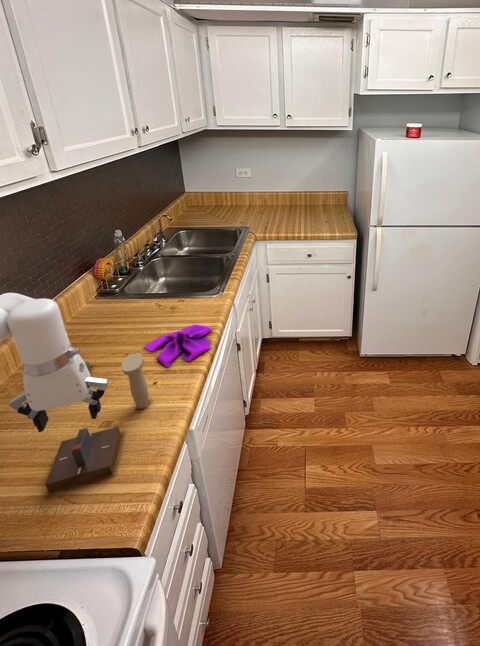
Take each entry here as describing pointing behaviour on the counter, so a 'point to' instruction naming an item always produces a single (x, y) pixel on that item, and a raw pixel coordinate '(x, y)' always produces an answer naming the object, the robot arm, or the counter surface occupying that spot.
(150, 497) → the counter surface
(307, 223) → the counter surface
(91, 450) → the panel
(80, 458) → the knob
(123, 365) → the handle
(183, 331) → the cloth
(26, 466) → the counter surface
